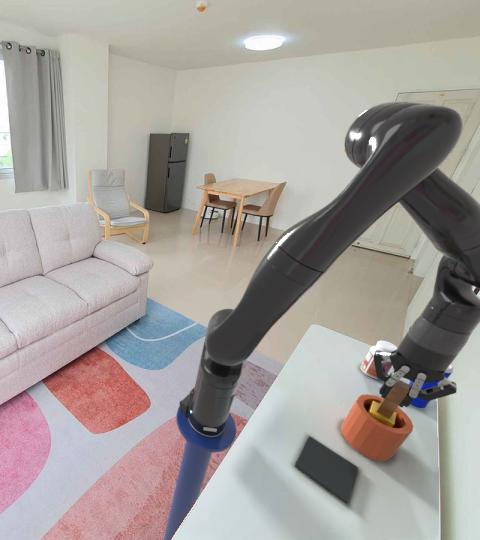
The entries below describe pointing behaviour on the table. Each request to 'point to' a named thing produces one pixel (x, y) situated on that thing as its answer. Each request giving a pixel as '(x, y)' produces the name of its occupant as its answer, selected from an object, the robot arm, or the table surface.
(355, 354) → the table surface
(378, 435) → the jar
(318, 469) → the mat
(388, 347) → the pill bottle
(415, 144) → the robot arm
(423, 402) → the beverage can
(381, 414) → the sponge brush
